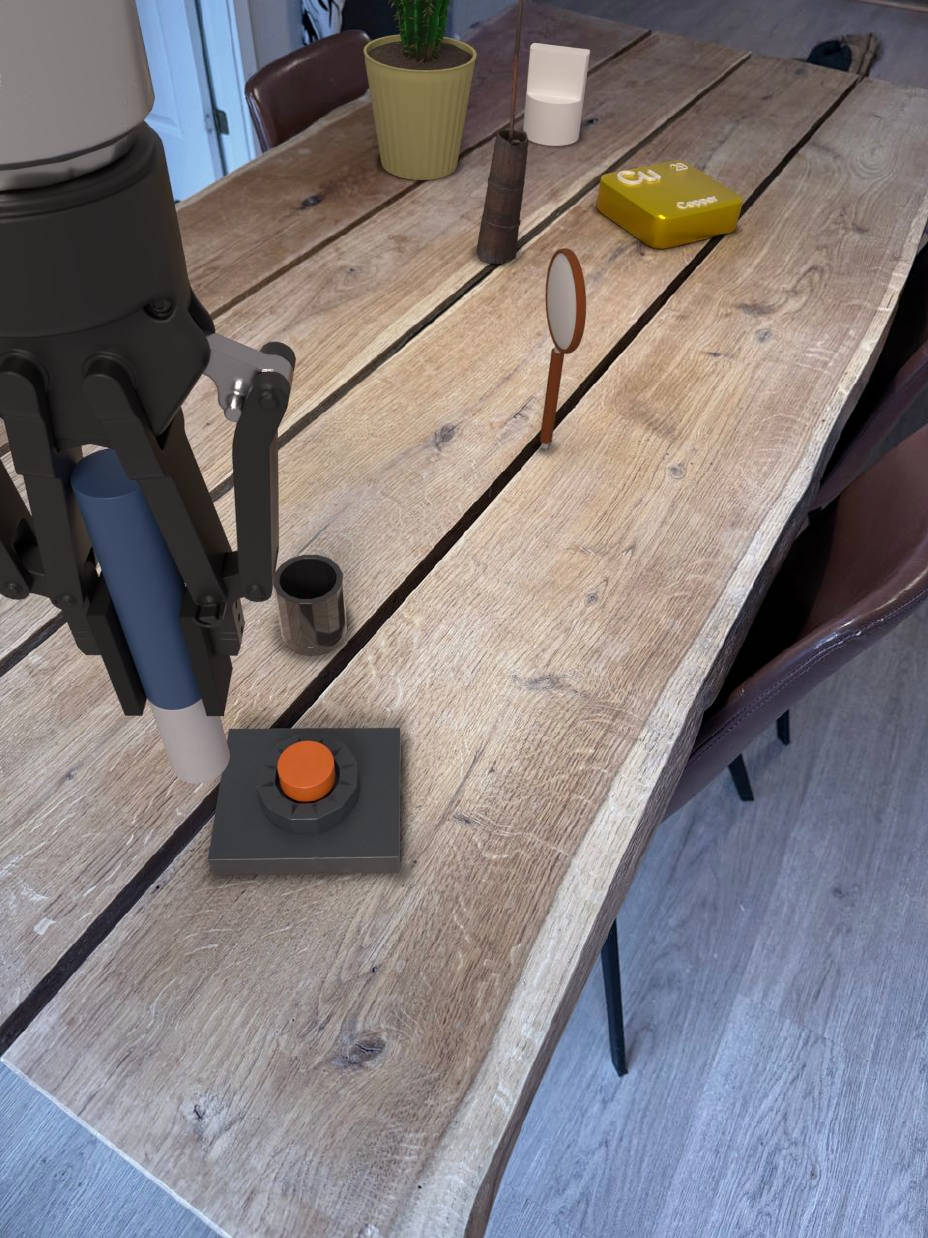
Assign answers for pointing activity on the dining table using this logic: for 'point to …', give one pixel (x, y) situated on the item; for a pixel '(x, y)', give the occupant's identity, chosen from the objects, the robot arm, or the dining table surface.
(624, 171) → the element tile
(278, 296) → the dining table surface
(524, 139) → the butter churn
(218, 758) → the pen
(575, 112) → the base with upright slab
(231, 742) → the station
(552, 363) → the magnifying glass
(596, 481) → the dining table surface
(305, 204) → the dining table surface
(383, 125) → the potted cactus
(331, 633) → the holder
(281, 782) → the button
